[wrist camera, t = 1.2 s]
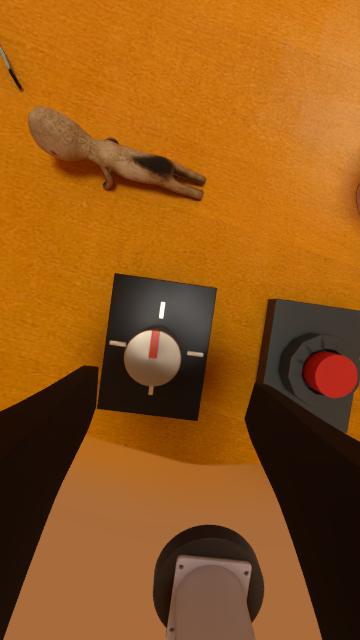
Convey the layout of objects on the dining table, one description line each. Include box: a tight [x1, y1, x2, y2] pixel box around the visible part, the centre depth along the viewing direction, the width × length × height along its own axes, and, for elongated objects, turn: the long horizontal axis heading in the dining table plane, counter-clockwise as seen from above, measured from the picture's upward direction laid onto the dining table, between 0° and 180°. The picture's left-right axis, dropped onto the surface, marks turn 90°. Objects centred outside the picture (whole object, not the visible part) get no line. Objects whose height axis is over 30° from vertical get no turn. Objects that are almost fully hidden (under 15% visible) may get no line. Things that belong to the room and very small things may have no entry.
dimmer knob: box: [124, 326, 181, 386], centre depth 17 cm, size 4×4×4 cm
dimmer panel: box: [97, 273, 217, 421], centre depth 21 cm, size 12×9×3 cm
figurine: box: [28, 107, 206, 200], centre depth 20 cm, size 4×4×15 cm
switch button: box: [303, 351, 358, 398], centre depth 19 cm, size 4×4×2 cm
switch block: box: [256, 299, 360, 433], centre depth 21 cm, size 12×9×4 cm
